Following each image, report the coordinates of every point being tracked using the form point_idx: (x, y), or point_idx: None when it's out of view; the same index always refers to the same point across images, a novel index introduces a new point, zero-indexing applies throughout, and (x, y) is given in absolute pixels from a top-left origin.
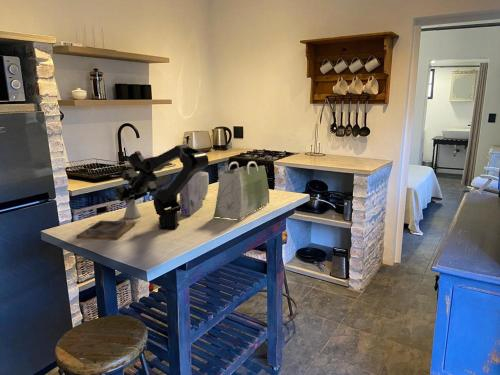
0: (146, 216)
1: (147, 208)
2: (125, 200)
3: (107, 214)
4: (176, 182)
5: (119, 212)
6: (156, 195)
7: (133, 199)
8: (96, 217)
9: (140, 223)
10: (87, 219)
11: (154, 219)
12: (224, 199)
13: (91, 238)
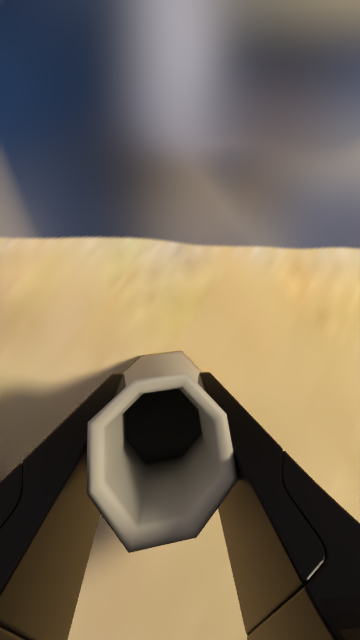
0: None
1: (311, 330)
2: (101, 387)
3: (116, 251)
4: None
5: (172, 270)
6: None
7: (173, 478)
8: (52, 248)
9: (92, 618)
10: (7, 240)
11: (222, 619)
12: None
13: None
